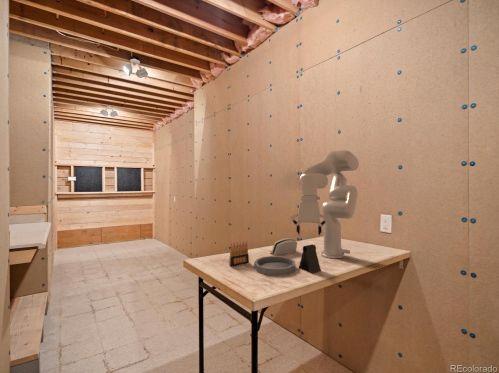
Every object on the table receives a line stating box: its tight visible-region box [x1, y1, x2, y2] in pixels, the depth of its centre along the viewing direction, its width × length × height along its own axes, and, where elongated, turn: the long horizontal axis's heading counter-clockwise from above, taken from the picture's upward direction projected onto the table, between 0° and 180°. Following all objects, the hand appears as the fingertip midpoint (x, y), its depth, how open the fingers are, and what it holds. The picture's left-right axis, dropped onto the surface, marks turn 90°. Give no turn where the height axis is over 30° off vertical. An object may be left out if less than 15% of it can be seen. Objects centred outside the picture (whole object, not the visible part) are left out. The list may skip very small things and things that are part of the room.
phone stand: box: [298, 243, 322, 274], centre depth 124 cm, size 9×6×12 cm, turn 31°
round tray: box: [253, 255, 296, 277], centre depth 127 cm, size 20×20×3 cm
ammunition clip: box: [228, 240, 250, 268], centre depth 133 cm, size 11×2×12 cm, turn 119°
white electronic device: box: [269, 237, 298, 256], centre depth 153 cm, size 17×5×10 cm, turn 121°
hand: (308, 234), depth 124 cm, fingers open, 9 cm apart
